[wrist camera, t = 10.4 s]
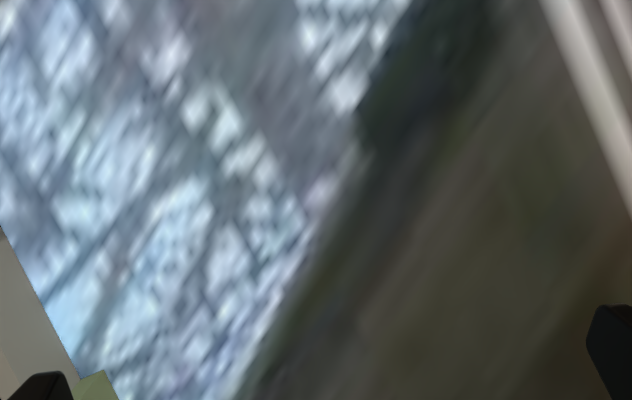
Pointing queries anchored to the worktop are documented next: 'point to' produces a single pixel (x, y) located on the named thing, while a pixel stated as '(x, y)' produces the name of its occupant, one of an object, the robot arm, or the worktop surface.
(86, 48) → the worktop surface
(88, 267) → the worktop surface
